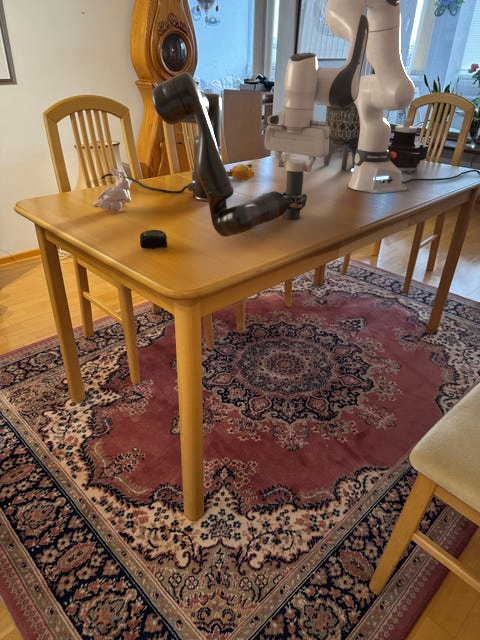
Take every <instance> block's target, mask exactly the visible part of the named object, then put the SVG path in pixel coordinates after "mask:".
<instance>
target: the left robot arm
mask: <svg viewBox="0 0 480 640" xmlns="http://www.w3.org/2000/svg"><path fill="white" fill-rule="evenodd" d="M151 102H152V105H153V109H154V111H155V112H156V114H157V116H158V117H159V118H160V119H161V121H163V122H164V123H166V124H167V125H168V126H169V125H170V126H173V125H177V124H179V123H185V124H194V125H196V126H197V131H198V135H196V136H195V137H194V138H193V142H192V143H193V145H192V146H193V169H192V170H191V179H192V182H191V183H187V185H185V186H183V187H182V189H180V190H168V189H164V188H163V189H162V188H157V187H151V186H148V185H145V184H143V183H141V182H140V181H139V180H138V179H135V178H132V177H129V176H125V177H126V178H127V179H128V180H131V181H132V182H135V183H136V184H138V185H139V186H140V187H142V188H144V189H147V190H149V191H154V192H161V193H166V194H181V193H184V192H185V190H186V189H187V190H188V192H192V198H195V199H196V200H198V201H201V202H208V207H209V212H210V218H211V224H212V226H213V229H214V230H215V232H216V233H218V235H219V236H220V237H225V238H228V237H231V236H235V235H239V234H244V233H247V232H249V231H251V230H252V229H254V228H255V227H257V226H259V225H262V224H264V223H268V222H271V221H273V220H275V219H278V218H280V217H283V216H284V213H285V211H286V210H288V209H291V208H295V207H296V209H297V210H298V211H300V212H301V211H302V210H303V209H305V207H306V203H307V201H308V194H307V193H302V195H300V196H294V195H292V196H285V195H286V191H284V192H283V191H281V192H279V191H276V190H275V191H269V192H265V193H262V195H259V196H257V197H255V198H253V199H250V200H248V201H245V202H244V203H241V204H238V205H234V206H231V207H228V203H227V200H228V199H229V198H231V197H232V196H233V195H234V192H235V191H234V186H233V184H232V182H231V179H230V176H228V174H227V170H226V167H225V164H224V161H223V160H222V117H223V116H222V115H223V100H222V98H221V95H220V94H218V93H206V92H203V91H202V90H200V88H199V85H198V84H197V82H196V80H195V78H194V76H192V75H191V73H190V72H188V71H183V72H181V73H179V74H177V75H174V76H173V77H170V78H169V79H167V80H164V81H163V82H160V83H159V84H157V85H156V86H155V87H154V88H153V90H152V93H151ZM106 177H114V176H113V175H112V173H105V174H103V175H102V176H101V179H105V178H106ZM120 178H122V177H121V175H120ZM297 199H298V200H297ZM296 200H297V203H296Z"/></svg>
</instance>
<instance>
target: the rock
mask: <svg viewBox="0 0 480 640" xmlns="http://www.w3.org/2000/svg"><path fill="white" fill-rule="evenodd" d="M333 153H338V154H342V147H340V148H338V149H336V150H335V151H334V152H333ZM348 153H351V151H350V150H349V152H348Z"/></svg>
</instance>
